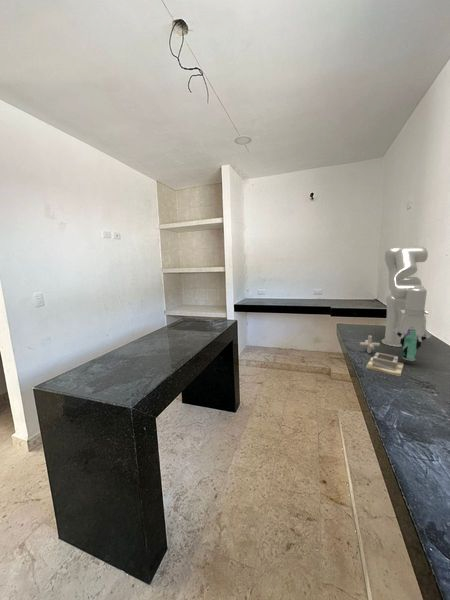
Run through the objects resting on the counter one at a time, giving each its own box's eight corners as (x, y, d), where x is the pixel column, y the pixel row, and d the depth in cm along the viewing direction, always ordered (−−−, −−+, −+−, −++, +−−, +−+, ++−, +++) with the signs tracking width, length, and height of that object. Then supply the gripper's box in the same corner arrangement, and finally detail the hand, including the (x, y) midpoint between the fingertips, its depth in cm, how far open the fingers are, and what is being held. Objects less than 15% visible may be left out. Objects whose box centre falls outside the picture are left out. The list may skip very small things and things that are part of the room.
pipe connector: (382, 356, 135) (383, 339, 133) (362, 355, 137) (363, 338, 135) (375, 349, 145) (376, 333, 143) (356, 348, 147) (357, 333, 145)
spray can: (413, 356, 126) (418, 320, 122) (416, 361, 121) (421, 323, 117) (401, 355, 128) (405, 319, 124) (403, 359, 123) (407, 322, 119)
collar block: (371, 358, 132) (372, 349, 131) (403, 365, 123) (404, 356, 122) (366, 368, 122) (366, 358, 121) (400, 376, 113) (401, 366, 112)
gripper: (437, 313, 117) (432, 348, 121) (394, 308, 128) (390, 340, 132) (437, 316, 111) (431, 353, 115) (392, 311, 122) (388, 345, 126)
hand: (410, 346), depth 123 cm, fingers closed on spray can, 5 cm apart
